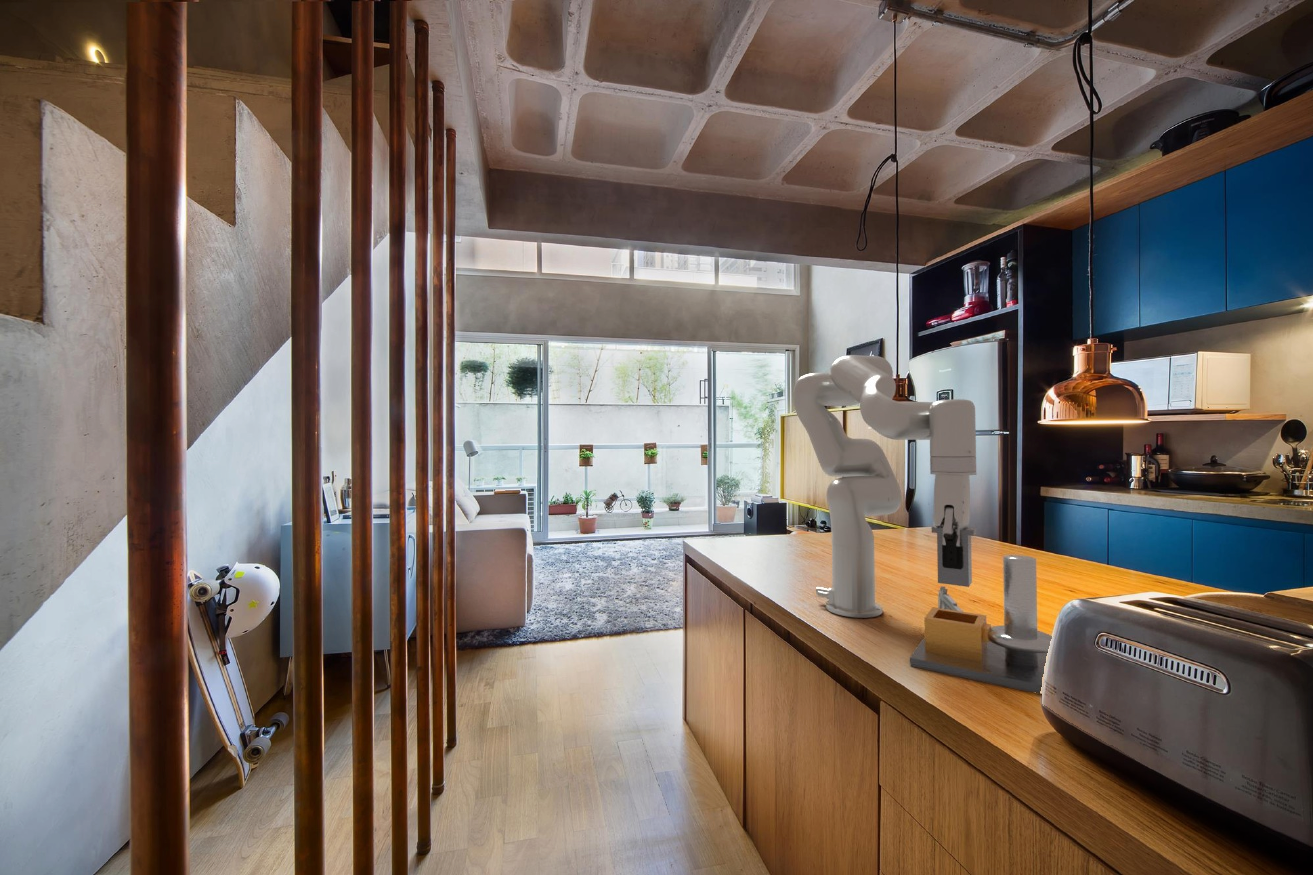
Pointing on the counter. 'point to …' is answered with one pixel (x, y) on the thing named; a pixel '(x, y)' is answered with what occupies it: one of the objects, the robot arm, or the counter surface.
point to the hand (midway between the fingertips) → (954, 564)
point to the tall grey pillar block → (965, 574)
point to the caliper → (946, 600)
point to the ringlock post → (991, 636)
